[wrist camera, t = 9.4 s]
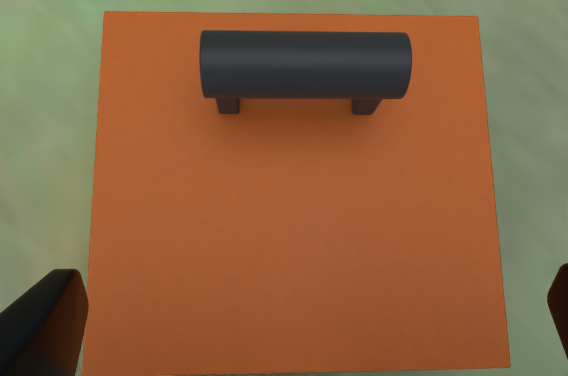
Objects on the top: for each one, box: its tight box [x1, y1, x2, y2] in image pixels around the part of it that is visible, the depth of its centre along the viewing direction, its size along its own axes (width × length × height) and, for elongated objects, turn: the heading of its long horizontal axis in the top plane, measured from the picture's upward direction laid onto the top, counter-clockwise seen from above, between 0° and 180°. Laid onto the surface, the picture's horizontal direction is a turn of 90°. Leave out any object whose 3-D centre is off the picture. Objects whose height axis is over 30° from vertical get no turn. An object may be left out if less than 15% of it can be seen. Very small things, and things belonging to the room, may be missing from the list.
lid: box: [82, 11, 511, 376], centre depth 14 cm, size 12×13×5 cm
